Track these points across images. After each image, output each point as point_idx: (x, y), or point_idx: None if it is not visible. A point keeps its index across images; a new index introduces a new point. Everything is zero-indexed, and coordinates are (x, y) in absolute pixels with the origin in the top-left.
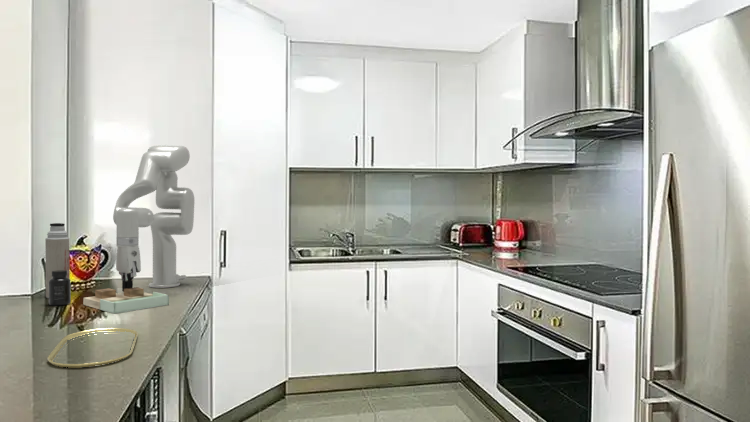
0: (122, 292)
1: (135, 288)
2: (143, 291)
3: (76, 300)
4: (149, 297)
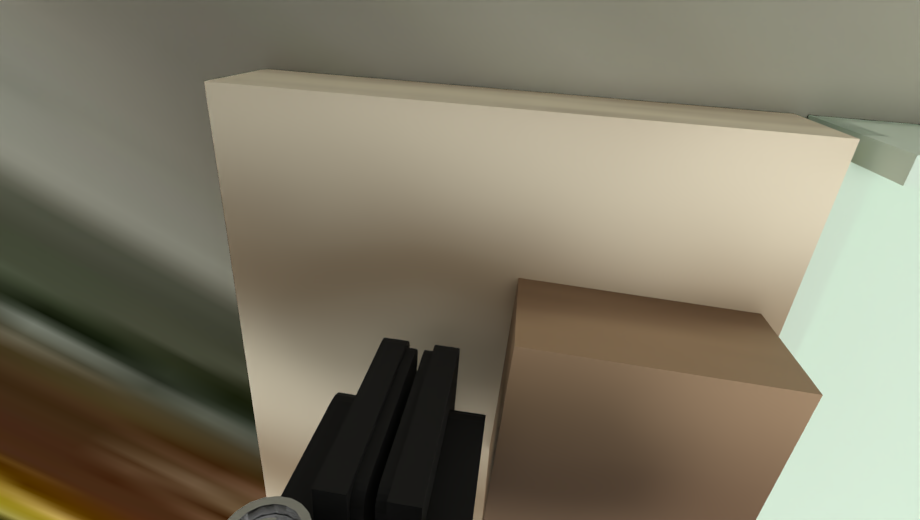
0: (241, 323)
1: (628, 445)
2: (792, 362)
3: (83, 512)
4: (838, 239)
